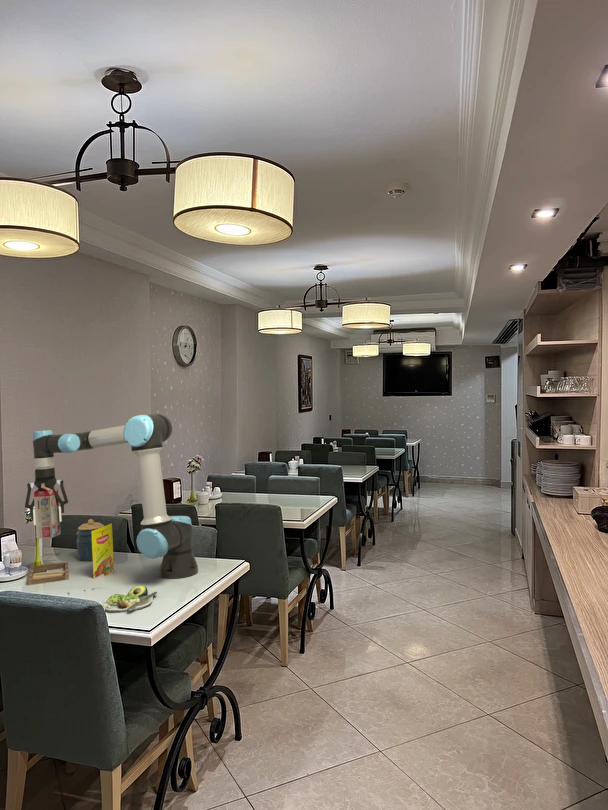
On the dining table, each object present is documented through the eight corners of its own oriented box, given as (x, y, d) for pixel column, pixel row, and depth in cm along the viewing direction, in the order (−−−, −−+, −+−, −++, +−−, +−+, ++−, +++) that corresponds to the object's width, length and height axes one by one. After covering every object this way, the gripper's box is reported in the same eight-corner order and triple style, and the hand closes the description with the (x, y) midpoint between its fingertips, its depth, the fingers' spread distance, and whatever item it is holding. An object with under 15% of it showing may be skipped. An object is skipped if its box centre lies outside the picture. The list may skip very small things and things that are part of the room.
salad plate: (155, 612, 194) (154, 598, 194) (98, 618, 191) (97, 604, 191) (158, 594, 213) (157, 581, 213) (106, 599, 210) (105, 586, 210)
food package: (95, 582, 231) (92, 531, 231) (92, 582, 231) (90, 531, 231) (115, 571, 246) (112, 523, 246) (112, 570, 246) (110, 523, 246)
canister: (78, 555, 275) (76, 518, 275) (107, 552, 279) (105, 515, 279) (76, 562, 263) (74, 523, 263) (107, 559, 267) (105, 520, 267)
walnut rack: (68, 583, 231) (68, 574, 231) (28, 588, 226) (28, 579, 226) (68, 570, 251) (68, 561, 251) (31, 575, 245) (30, 566, 245)
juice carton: (60, 534, 245) (57, 481, 245) (52, 537, 238) (48, 483, 238) (45, 534, 246) (42, 481, 246) (36, 538, 239) (33, 484, 239)
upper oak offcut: (62, 579, 232) (62, 574, 232) (32, 582, 230) (32, 577, 230) (65, 576, 237) (64, 571, 237) (36, 578, 235) (35, 573, 235)
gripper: (72, 464, 250) (76, 518, 249) (16, 469, 241) (19, 524, 241) (73, 466, 243) (76, 520, 242) (14, 471, 234) (18, 527, 234)
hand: (47, 522), depth 242 cm, fingers closed on juice carton, 9 cm apart
